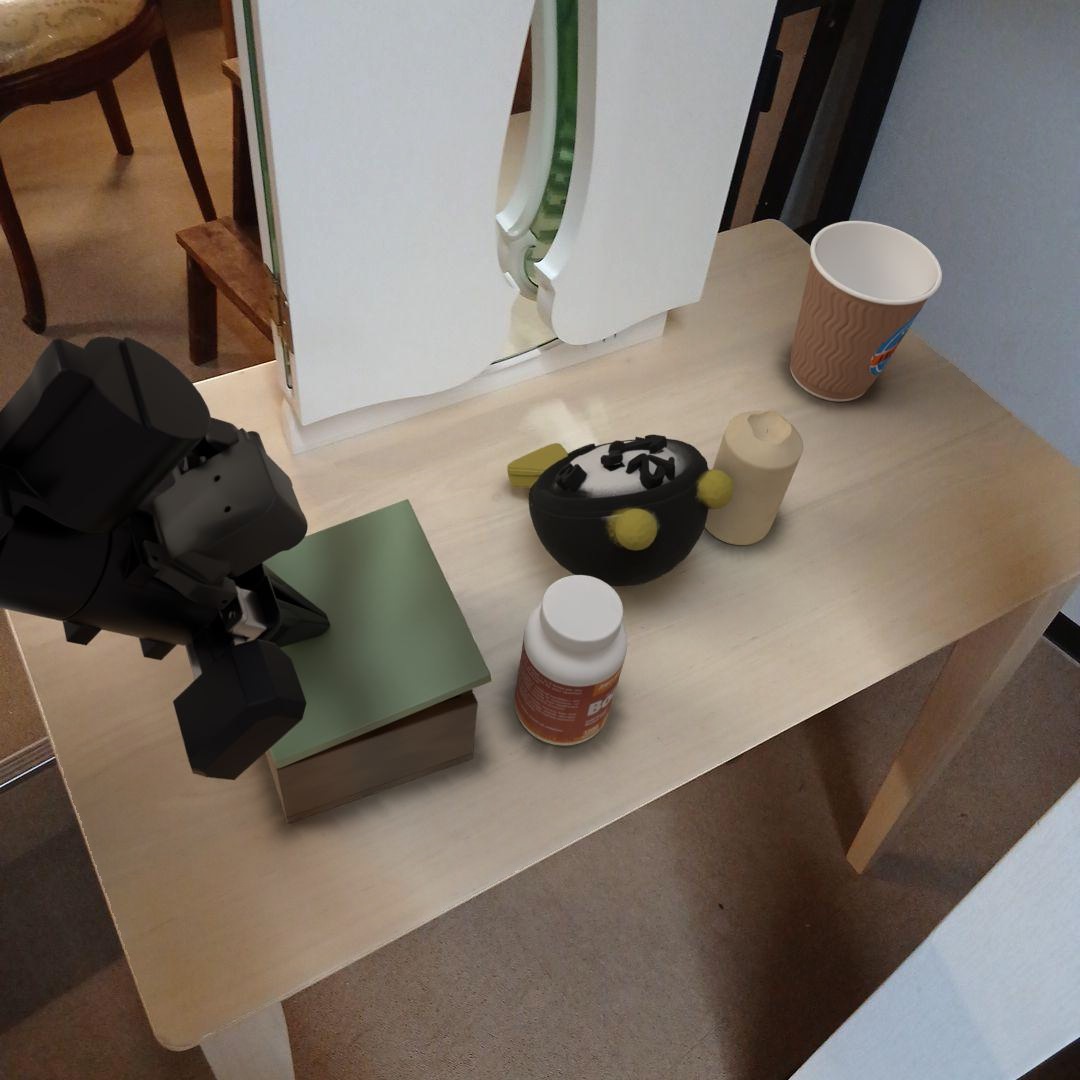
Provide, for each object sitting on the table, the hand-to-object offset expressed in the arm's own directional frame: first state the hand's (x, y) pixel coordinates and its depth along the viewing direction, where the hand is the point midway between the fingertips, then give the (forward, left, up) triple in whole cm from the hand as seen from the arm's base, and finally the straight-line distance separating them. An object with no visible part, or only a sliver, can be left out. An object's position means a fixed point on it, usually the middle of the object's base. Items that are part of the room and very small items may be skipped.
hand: (324, 625), depth 61 cm
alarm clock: (+21, +8, -9) cm, 24 cm away
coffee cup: (+47, +21, -9) cm, 52 cm away
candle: (+32, +8, -9) cm, 34 cm away
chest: (+1, 0, -9) cm, 9 cm away
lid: (+1, 0, -1) cm, 2 cm away
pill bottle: (+14, -4, -9) cm, 17 cm away
